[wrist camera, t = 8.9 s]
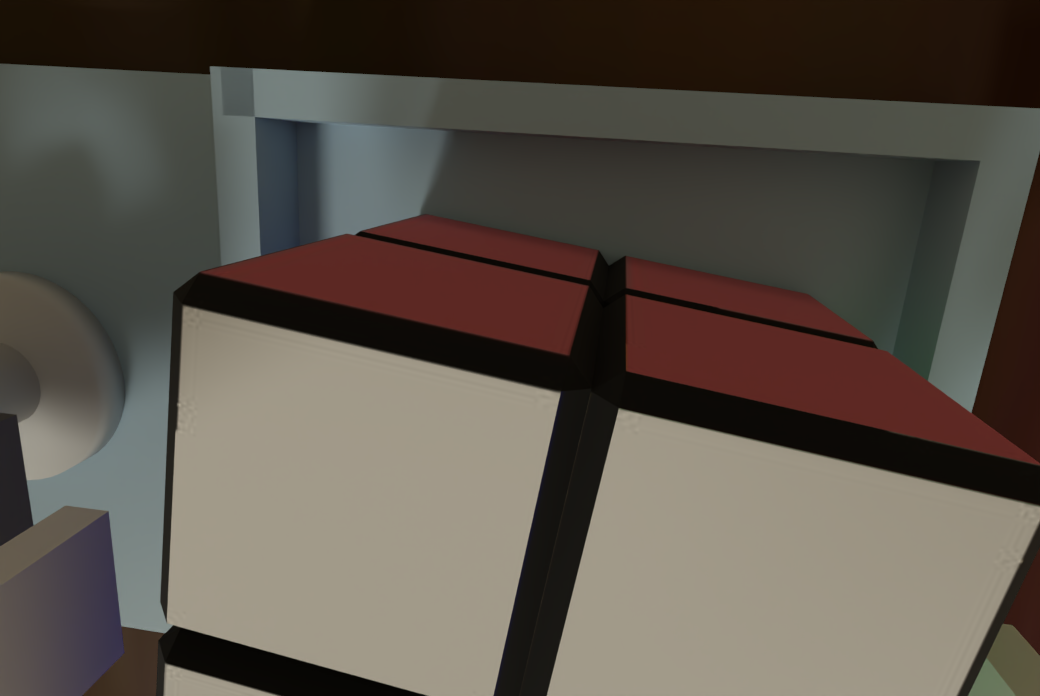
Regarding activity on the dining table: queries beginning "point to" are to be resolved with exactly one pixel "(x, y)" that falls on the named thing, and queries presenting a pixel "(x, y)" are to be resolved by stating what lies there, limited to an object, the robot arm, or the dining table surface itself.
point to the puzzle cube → (564, 483)
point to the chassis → (458, 196)
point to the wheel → (12, 482)
